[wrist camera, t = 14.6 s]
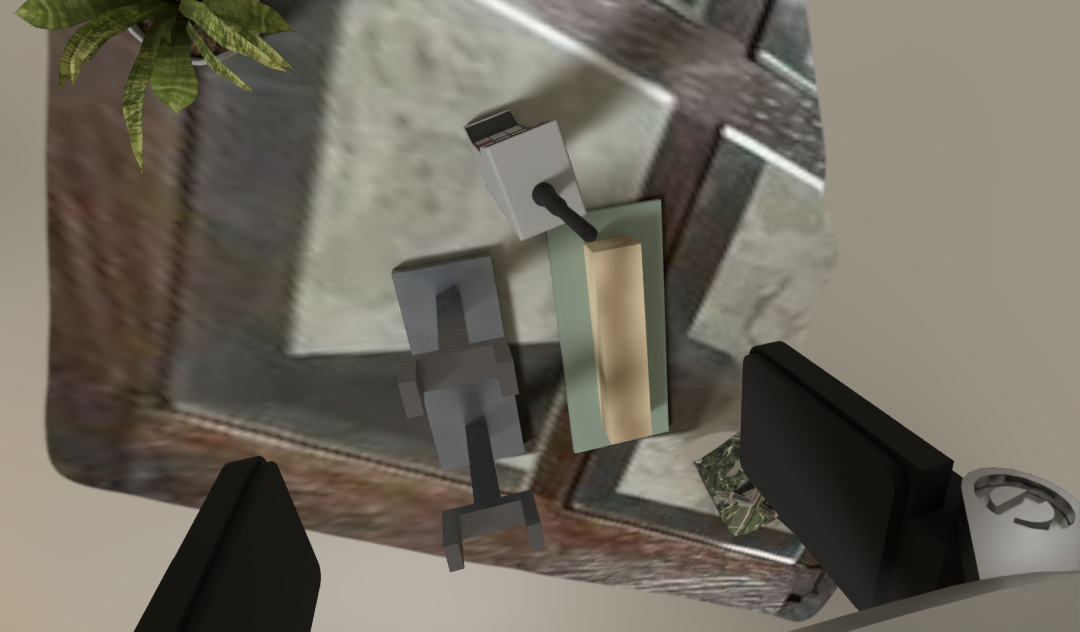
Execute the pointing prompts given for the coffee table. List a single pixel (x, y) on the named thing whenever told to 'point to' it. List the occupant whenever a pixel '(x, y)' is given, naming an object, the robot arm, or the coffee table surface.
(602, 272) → the maple rail
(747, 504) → the eiffel tower figurine
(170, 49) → the house plant
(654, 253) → the rubber mat
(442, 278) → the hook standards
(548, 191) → the vintage mobile phone
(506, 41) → the coffee table surface
